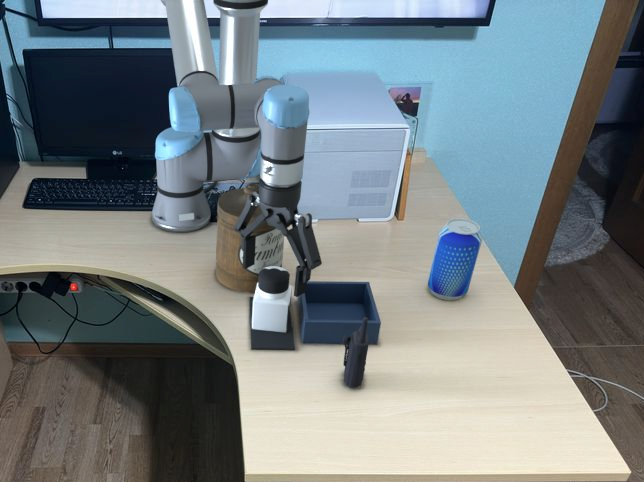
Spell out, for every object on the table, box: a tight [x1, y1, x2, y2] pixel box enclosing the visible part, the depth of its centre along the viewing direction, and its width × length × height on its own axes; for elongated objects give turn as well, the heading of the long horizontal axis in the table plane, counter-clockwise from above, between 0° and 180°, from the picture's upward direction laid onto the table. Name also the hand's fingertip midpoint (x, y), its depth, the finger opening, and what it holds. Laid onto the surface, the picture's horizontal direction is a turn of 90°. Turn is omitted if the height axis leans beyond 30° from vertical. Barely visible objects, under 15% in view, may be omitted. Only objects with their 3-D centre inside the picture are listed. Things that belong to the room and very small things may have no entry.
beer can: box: [427, 217, 483, 301], centre depth 142 cm, size 8×8×16 cm
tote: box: [296, 280, 382, 345], centre depth 137 cm, size 15×15×5 cm
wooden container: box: [215, 183, 285, 293], centre depth 146 cm, size 15×15×22 cm
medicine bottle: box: [252, 266, 293, 333], centre depth 134 cm, size 7×7×12 cm
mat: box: [249, 296, 296, 351], centre depth 138 cm, size 18×8×1 cm, turn 177°
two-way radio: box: [342, 317, 370, 388], centre depth 119 cm, size 6×4×15 cm
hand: (273, 279), depth 132 cm, fingers open, 13 cm apart
